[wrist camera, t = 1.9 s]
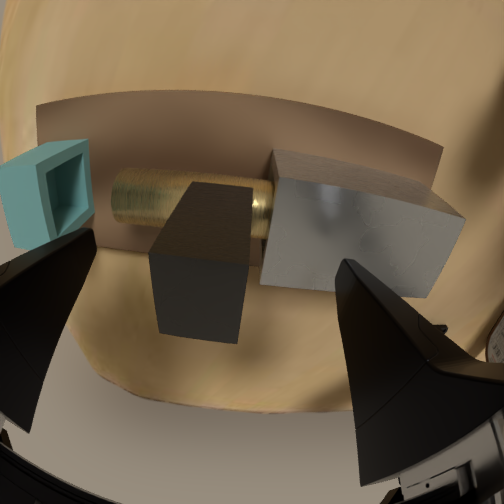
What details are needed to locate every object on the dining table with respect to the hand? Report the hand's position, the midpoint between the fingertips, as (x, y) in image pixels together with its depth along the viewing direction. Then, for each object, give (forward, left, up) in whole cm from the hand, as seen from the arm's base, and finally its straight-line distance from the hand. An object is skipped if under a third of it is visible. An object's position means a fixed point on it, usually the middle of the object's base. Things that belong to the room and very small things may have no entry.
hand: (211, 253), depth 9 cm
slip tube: (0, -2, -5) cm, 6 cm away
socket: (0, +10, -6) cm, 12 cm away
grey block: (0, -6, -6) cm, 9 cm away
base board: (0, 0, -8) cm, 8 cm away
